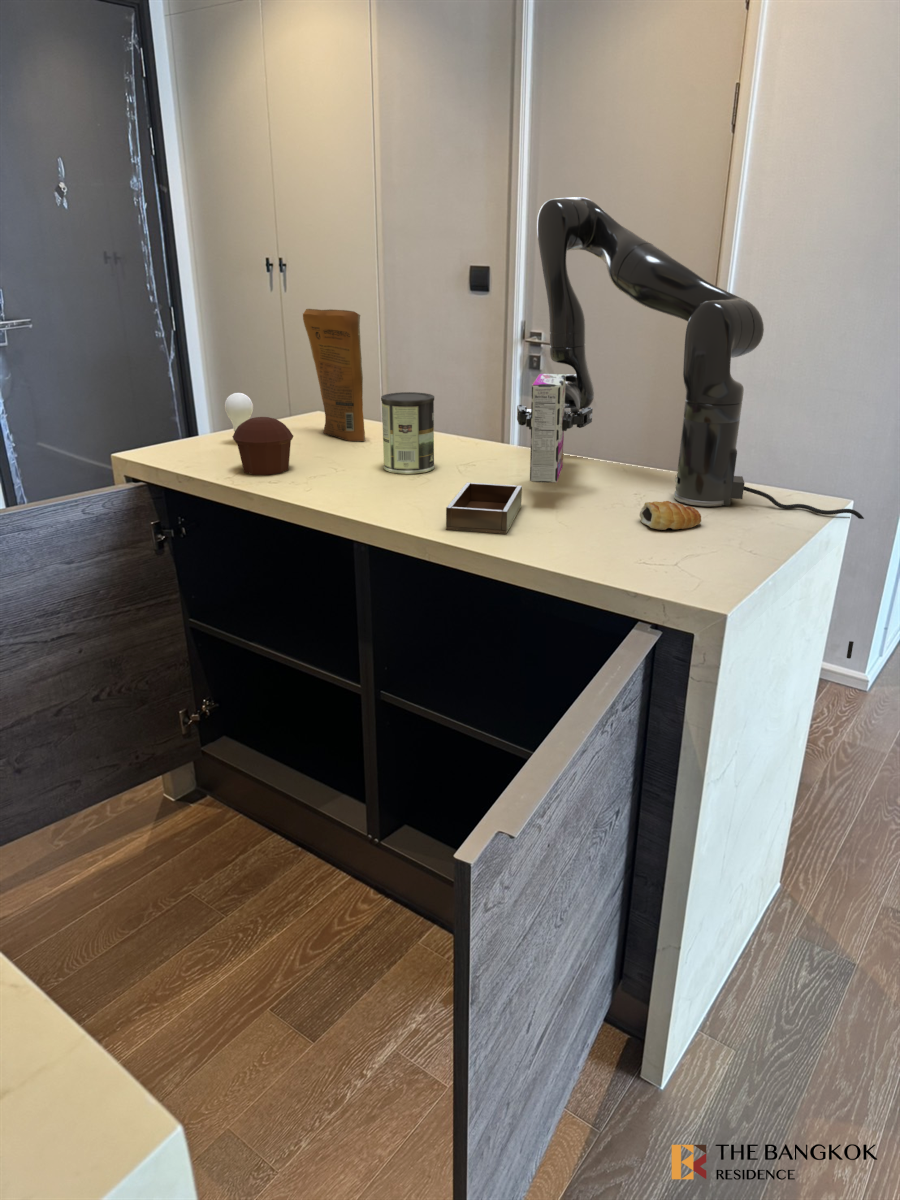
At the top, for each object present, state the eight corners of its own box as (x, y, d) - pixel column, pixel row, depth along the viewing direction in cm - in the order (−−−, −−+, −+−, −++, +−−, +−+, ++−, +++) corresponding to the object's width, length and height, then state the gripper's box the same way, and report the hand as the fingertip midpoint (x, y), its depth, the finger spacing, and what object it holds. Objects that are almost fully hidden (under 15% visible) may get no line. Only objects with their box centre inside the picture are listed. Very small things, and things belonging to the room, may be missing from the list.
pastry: (689, 517, 142) (692, 494, 140) (708, 530, 136) (711, 506, 134) (635, 520, 140) (637, 497, 139) (652, 533, 134) (654, 509, 132)
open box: (521, 506, 147) (522, 485, 146) (506, 534, 133) (507, 511, 132) (466, 502, 149) (466, 482, 148) (445, 529, 135) (446, 507, 134)
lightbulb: (261, 442, 193) (257, 392, 188) (242, 447, 188) (237, 396, 184) (242, 438, 196) (237, 389, 191) (222, 443, 191) (217, 393, 187)
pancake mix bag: (352, 445, 190) (346, 312, 179) (306, 431, 203) (299, 306, 193) (377, 441, 194) (373, 310, 183) (331, 427, 207) (324, 305, 197)
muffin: (306, 465, 173) (303, 415, 169) (276, 479, 163) (272, 426, 159) (255, 460, 177) (251, 411, 173) (223, 473, 167) (218, 421, 163)
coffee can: (424, 460, 178) (423, 390, 172) (442, 471, 169) (442, 398, 163) (376, 464, 174) (374, 393, 169) (392, 476, 165) (390, 402, 160)
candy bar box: (535, 466, 155) (538, 373, 149) (563, 467, 154) (567, 373, 148) (527, 482, 145) (530, 383, 138) (557, 484, 144) (562, 384, 138)
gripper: (521, 384, 161) (506, 400, 146) (598, 387, 158) (591, 403, 143) (520, 425, 164) (505, 444, 149) (596, 428, 161) (589, 448, 146)
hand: (547, 424), depth 146 cm, fingers closed on candy bar box, 5 cm apart
